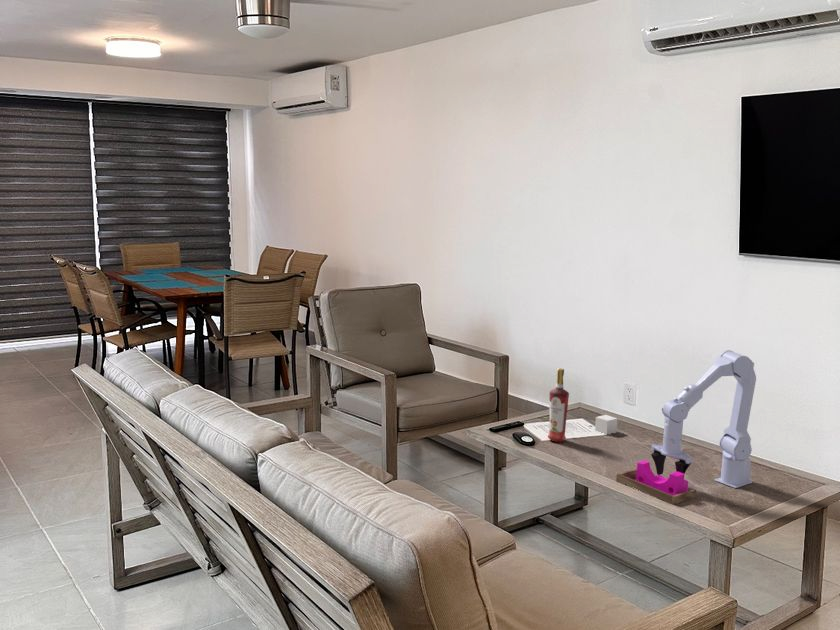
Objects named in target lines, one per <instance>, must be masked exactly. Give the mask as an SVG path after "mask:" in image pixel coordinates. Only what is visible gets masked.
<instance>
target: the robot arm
mask: <svg viewBox="0 0 840 630" xmlns="http://www.w3.org/2000/svg"><path fill="white" fill-rule="evenodd" d="M754 368H755V363H754V362H753V361H752V359H751V358H750V357H749V356H747V355H742V354H740V353H737V352H735V351H733V350H729V349H728V350H725V351H722V353H720V355H719V356H717V357H716V358H715V361H714V363H713V364H712V366H710V368H709V369H708V370H707V371H706V372H705V373H704V374H702V376H701V377H700V378H699V379H698V380H697V381H696V383H694V384H688V385H685V386H684V387H683V390H682V391H681V392H679V394H678V395H677V396H674V397H673V398H672V400H668V401H667V402H665V404H664V405H663V407H661V412H662V414H663V415H664V425H663V435H662V436H663V437H662V445H660V444H655V443H654V444H651V447H650V448H651V452H652V453H650V455H651V456H650V457H651V458H652V460H653V462H654V465H655V470H656V474H657V475H661V476H662V475H663V474H664V467H665V463H666V462H665V461H666V458H667V456H668V457H671V458H674V459H676V460H677V461H674V466H675V472H677V471H678V472H681V473H683V474H685V473H686V472H687V471H688V468H689V467H690V465H692V463H693V457H692V456H690V455H688V454H686V453H685V452H683V451H682V444H683V443H682V440H683V429H684V420H686V419H687V418H688V415H689V412H690V411H691V409H692V408H693V407H694V406H695V405H697V403H698V402H700V401H701V400H702V399H703V395H704V392H706V390H707V389H708V388H709V387H711V386H712V385H714V383H716V382H717V381H718V380H719V379H721V378H722V377H734V379H735V380H736V386H735V391H734V397H733V404H732V409H731V415H730V418H729V419H730V420H729V421H730V422H729V426H727V427H726V428H725V429H724V430H723V434H722V436H721V438H720V439H719V448H720V450H722V451H721V452H722V460H721V472H720V477H718V478H715V479H714V481H715V482H718V483H721V484H724V485H726V486H728V487H731V488H734V489H737V488H741V487H743V486H747V485H749V484H752V483H753V481H752V480H751V474H752V473H751V471H752V462H751V459H750V458H749V457H750V456H751V454H752V451H753V450H752V444H751V440H752V438H751V436H750V434H749V431H748V428H749V427H748V426H749V421H750V416H751V412H752V411H751V410H752V406H753V405H752V404H753V400H754V395H755V389H756V383H757V375H756V371H755V369H754ZM657 475H656V476H657Z"/></svg>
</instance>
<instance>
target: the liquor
mask: <svg viewBox="0 0 840 630" xmlns="http://www.w3.org/2000/svg"><path fill="white" fill-rule="evenodd" d="M564 375H565V369H564V368H557V369H556V381H555V388H554V389H552V390H550V391H549V402H548V404H549V425H548V426H549V427H548V428H549V431H548V436H547V438H548V440H550V441H551V440H552V441H551V442H553V441H556V442H555V443H562V442H564V441H565V440H566V439H567V437H566V426H567V416H568V407H569V399H570V397H569V396H570V393H569V392H568V391H567V390H566V389H564Z"/></svg>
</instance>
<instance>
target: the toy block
mask: <svg viewBox="0 0 840 630" xmlns="http://www.w3.org/2000/svg"><path fill="white" fill-rule="evenodd" d="M650 463H651V462H650V461H647V460H644V459H643V460H641V461H638V462H637V463H636V469H637V474H636V477H635V480H636V481H638V482H641V483H643V484H645V485H648V486H650V487H653V488H655V489H658V490H660V491H663V492H665V493H668V494H670V495H673V496H674V495H677V494H680V493H683V492H686V491H689V481H688V480H686V479H685V474H683V473H681V472H678V471H677V472H676V471H674V472H671V473H669V477H668V478H666V477H664V476H662V474H661V475H655V473H654V472H653V470H652V468H651V465H650Z"/></svg>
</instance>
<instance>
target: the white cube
mask: <svg viewBox="0 0 840 630" xmlns="http://www.w3.org/2000/svg"><path fill="white" fill-rule="evenodd" d="M594 425H595V426H594V431H595V430H596V431H598V432H597V433H599V432H601V433H600V434H602V433H604V434H603V435H605V434H606V435H605V436H608V435H607V434H610V435H612V434H611V433H614V434H616V432H618V418H616V417H613V416H611V415H608V414H603V415H600V416H595V424H594ZM596 431H595V432H596Z"/></svg>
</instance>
